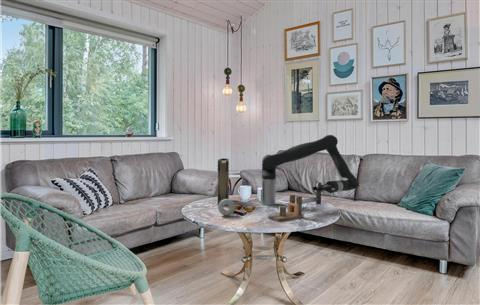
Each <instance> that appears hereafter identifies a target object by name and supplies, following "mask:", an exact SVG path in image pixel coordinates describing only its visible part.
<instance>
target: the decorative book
mask: <svg viewBox="0 0 480 305" xmlns="http://www.w3.org/2000/svg"><path fill="white" fill-rule="evenodd" d="M229 160H230V158H219V159H217V206H218V205H219V203H220V202H221V201H222V200H223V199H230V197H229V196H230V195H229V193H230V192H229V189H230V186H229V184H230V182H229V181H230V180H229V178H230V174H229V173H230V171H229V170H230V166H229V165H230V161H229ZM225 206H226V207H229V205H225Z"/></svg>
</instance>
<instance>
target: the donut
mask: <svg viewBox="0 0 480 305" xmlns="http://www.w3.org/2000/svg"><path fill="white" fill-rule="evenodd" d="M226 205H228V209H225V206H226ZM217 209H218V210H217V211H218V212H219V213H220V214H221V215H222V216H225V217H227V216H228V217H229V216H231V215H232V214H233V213H234V212H235V210H236V204H235V202H234V201H233V200H232V199H231V198H229V199H223V200H222V201H221V202H220V203H219V205H218V204H217Z"/></svg>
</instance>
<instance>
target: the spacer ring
mask: <svg viewBox="0 0 480 305" xmlns="http://www.w3.org/2000/svg"><path fill="white" fill-rule="evenodd" d="M292 206H294V212H292ZM287 213H289V214H293V215H299V205H298V204H296V203H295V204H294V203H290V202H287Z"/></svg>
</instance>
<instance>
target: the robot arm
mask: <svg viewBox="0 0 480 305" xmlns="http://www.w3.org/2000/svg"><path fill="white" fill-rule="evenodd" d="M338 141H339V140H338V138H337V137H336V136H335V135H332V134H327V135H325V136H324V137H321V138H320V139H318V140H314V141H310V142H304V143H299V144H297V145H294V146H291V147H290V148H288V149H285V150H284V151H282V152H279V153H274V154H266V155H264V156H263V158H262V162H261V188H260V204H261V205H262V206H274V205H276V193H277V192H276V188H277V187H276V184H277V182H276V180H277V174H276V172H277V168H276V167H278V166H280V165H283V164H285V163H290V162H295V161H298V160H301V159H304V158H307V157H310V156H311V155H314V154H316V153H319V152H322V151H327V153H328V154H329V156H330V158H331V159H332V161H333V163H334V166H335V168H336V170H337V172H338V174H339V176H340V178H343V179H341V180H340V179H339V180H336V179H335V180H329V181H327V182H326V183H322V184H321V187H318V188H317V191H321V192H327V193H329V194H332V193H334V194H335V193H339V192H343V191H344V192H347V191H352V190H356V189H358V188H359V187H360V186H359V185H360V184H359V183H360V182H359V180H358V179H357V177H356V176H355V175H354V174H353V173H352V172H351V170H350V168H349V167H348V164H347V162H346V161H345V160H344V158H343V157H342V155H341V153H340V151H339V149H338V147H337V145H338ZM345 179H346V180H345ZM312 191H316V184H315V186H312Z"/></svg>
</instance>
